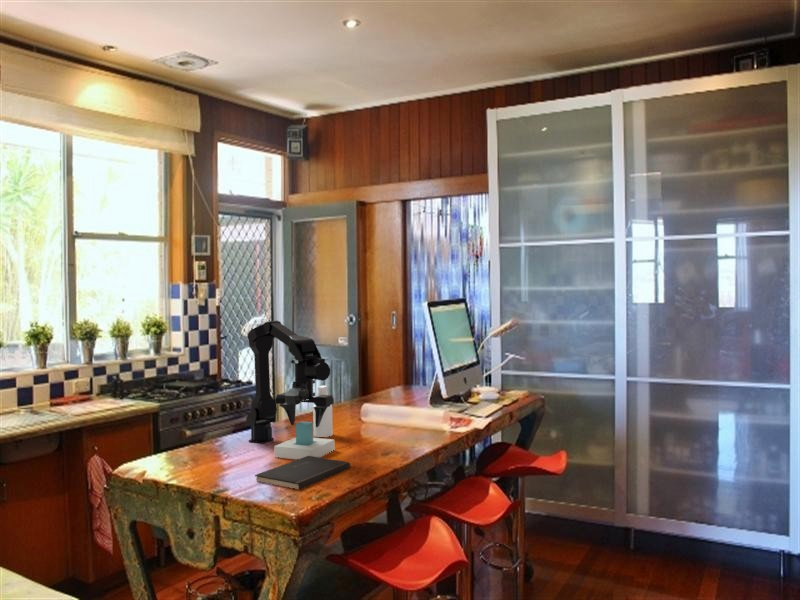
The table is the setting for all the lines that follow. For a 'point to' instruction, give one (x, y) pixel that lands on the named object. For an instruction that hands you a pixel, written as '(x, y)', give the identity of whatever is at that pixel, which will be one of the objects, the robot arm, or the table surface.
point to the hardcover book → (302, 472)
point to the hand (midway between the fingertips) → (304, 426)
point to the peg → (304, 433)
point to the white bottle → (323, 418)
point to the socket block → (304, 449)
